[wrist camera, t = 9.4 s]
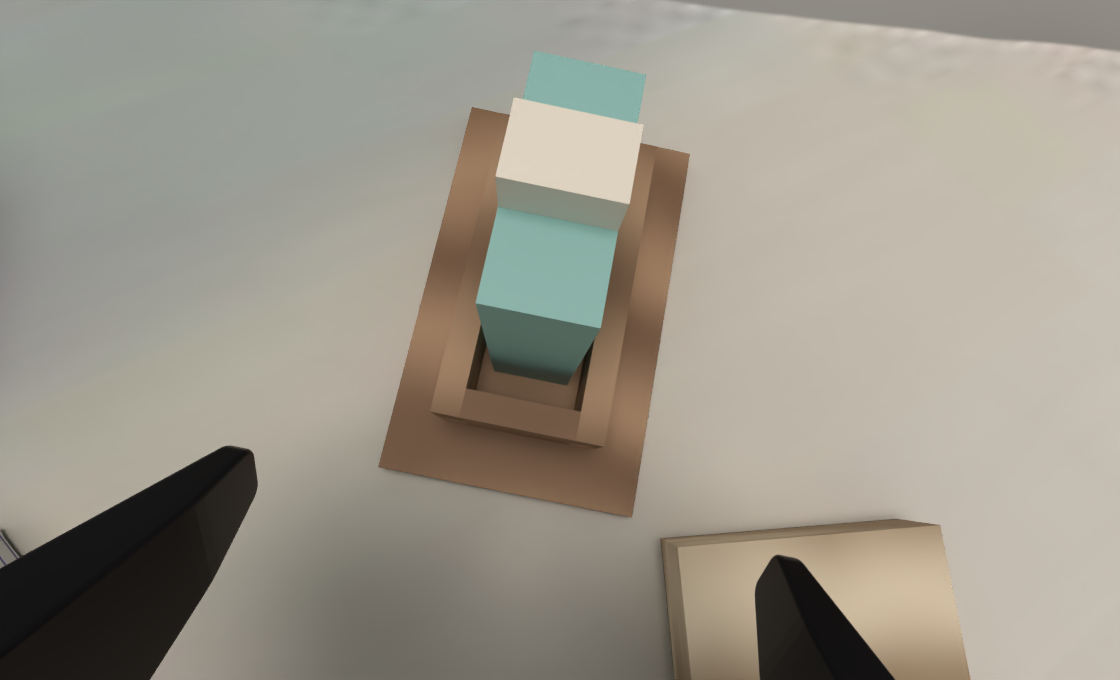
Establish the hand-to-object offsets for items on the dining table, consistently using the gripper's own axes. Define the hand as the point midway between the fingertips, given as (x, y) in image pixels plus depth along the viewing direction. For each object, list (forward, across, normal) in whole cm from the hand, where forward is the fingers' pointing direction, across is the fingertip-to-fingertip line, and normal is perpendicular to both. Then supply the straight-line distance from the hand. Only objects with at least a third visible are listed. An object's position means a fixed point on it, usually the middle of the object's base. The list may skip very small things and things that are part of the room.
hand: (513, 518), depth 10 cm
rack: (+15, 0, +4) cm, 16 cm away
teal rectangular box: (+15, 0, +4) cm, 15 cm away
